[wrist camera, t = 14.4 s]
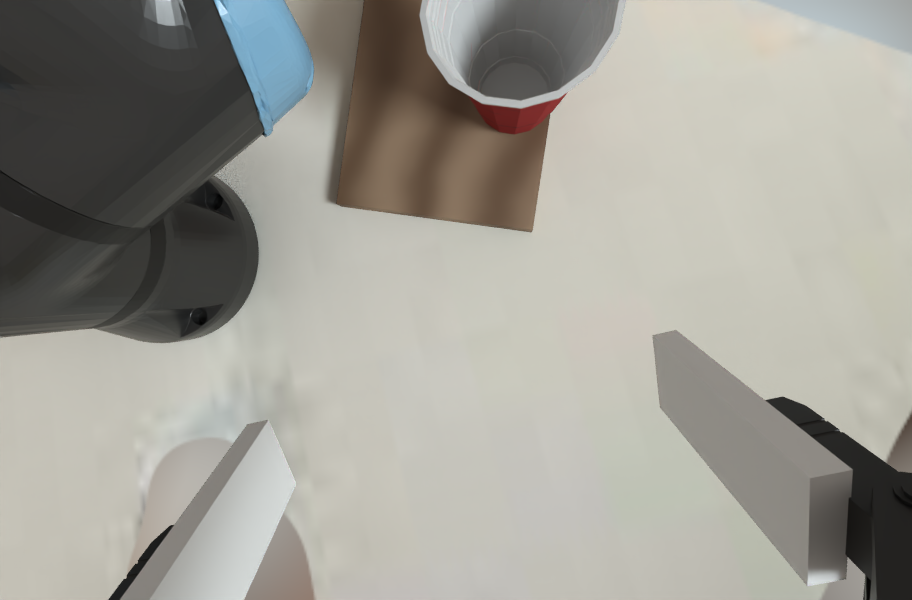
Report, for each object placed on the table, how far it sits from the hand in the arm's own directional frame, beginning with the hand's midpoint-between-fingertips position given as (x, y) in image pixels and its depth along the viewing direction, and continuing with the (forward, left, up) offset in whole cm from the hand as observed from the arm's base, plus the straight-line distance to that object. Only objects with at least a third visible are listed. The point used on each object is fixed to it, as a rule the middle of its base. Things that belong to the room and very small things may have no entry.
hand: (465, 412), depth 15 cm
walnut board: (-5, +19, -22) cm, 30 cm away
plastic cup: (-1, +19, -21) cm, 29 cm away
